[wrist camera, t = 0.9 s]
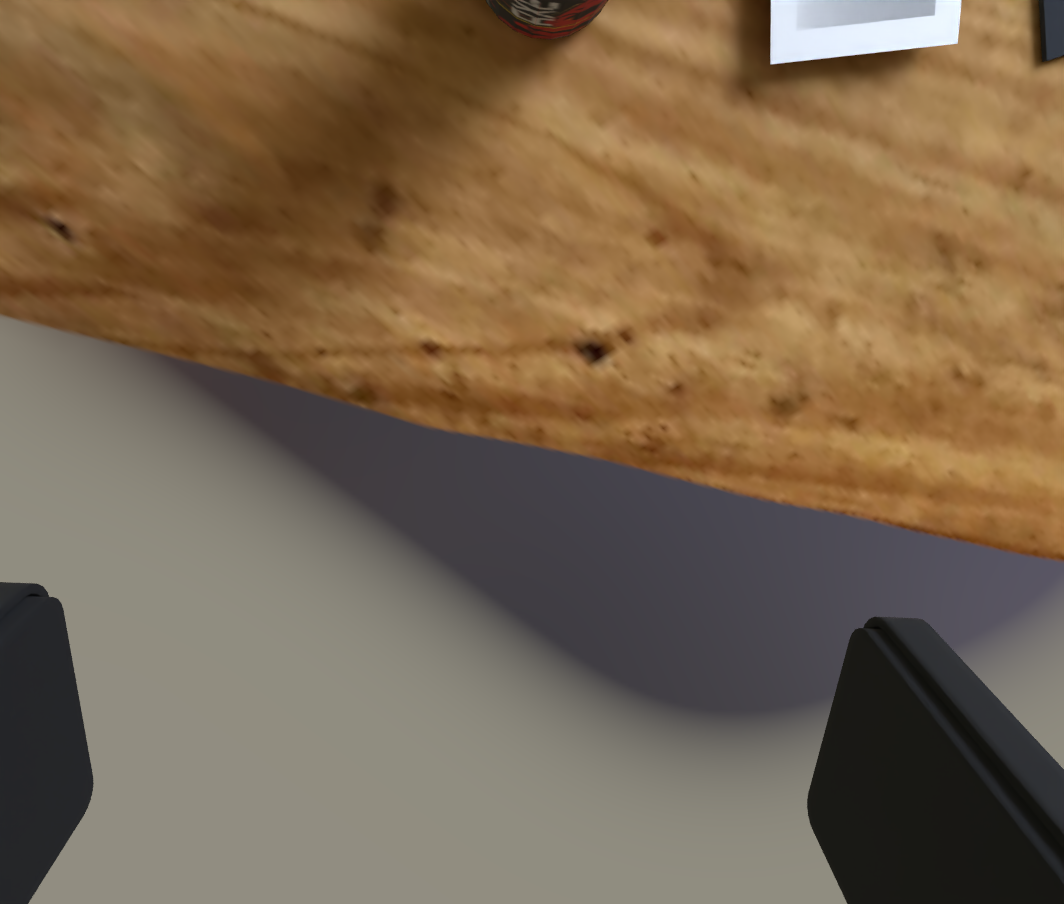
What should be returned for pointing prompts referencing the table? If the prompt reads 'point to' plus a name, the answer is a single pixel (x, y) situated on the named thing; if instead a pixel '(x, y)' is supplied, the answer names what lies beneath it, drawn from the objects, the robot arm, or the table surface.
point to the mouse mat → (1052, 28)
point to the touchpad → (858, 27)
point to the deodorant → (546, 15)
